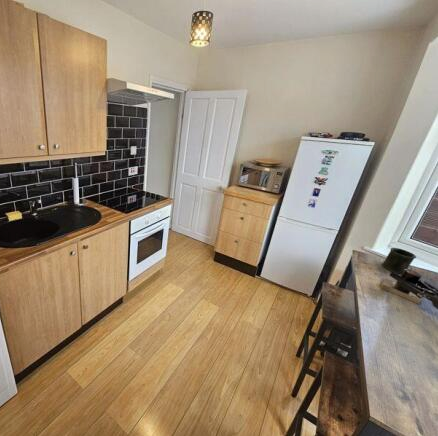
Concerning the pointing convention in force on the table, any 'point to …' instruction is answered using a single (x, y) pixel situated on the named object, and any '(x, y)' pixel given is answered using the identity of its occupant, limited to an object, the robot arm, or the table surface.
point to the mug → (398, 260)
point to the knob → (409, 279)
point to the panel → (399, 291)
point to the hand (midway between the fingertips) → (397, 273)
